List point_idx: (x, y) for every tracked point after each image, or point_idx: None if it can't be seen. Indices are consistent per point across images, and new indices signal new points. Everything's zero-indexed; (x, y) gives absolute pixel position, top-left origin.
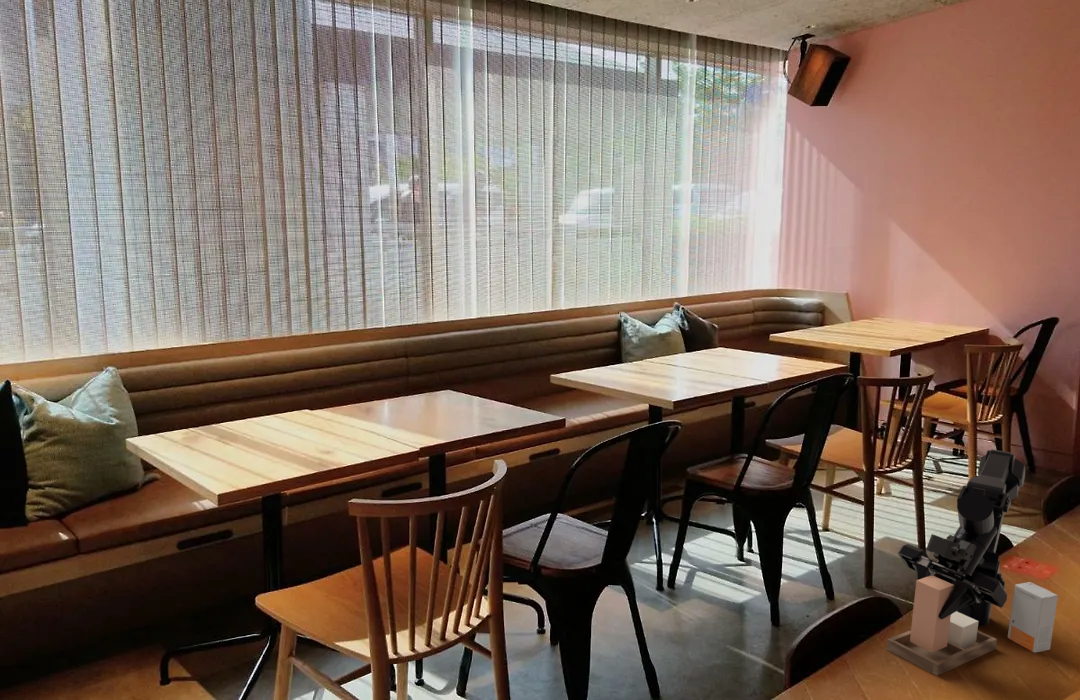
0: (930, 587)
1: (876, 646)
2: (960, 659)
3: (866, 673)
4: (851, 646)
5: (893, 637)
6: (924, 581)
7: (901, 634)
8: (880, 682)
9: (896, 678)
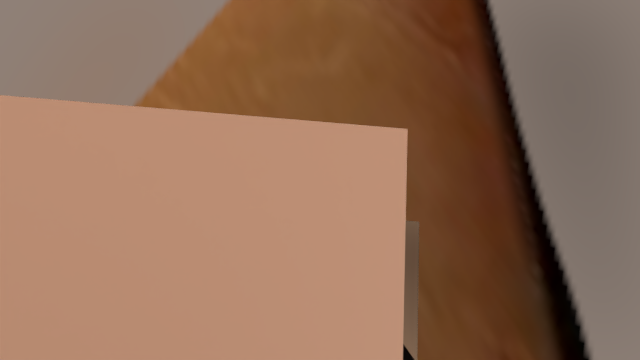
0: (15, 107)
1: (472, 271)
2: None
3: (351, 38)
4: (528, 171)
5: (414, 271)
6: (252, 257)
7: (411, 351)
8: (281, 26)
9: (258, 99)
